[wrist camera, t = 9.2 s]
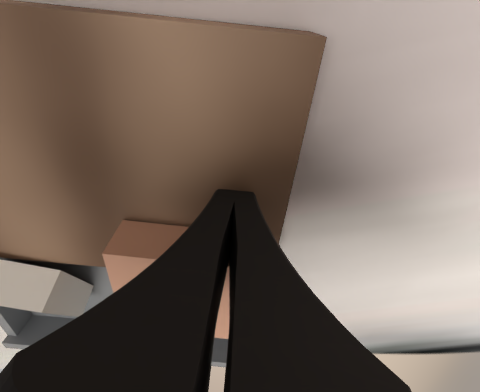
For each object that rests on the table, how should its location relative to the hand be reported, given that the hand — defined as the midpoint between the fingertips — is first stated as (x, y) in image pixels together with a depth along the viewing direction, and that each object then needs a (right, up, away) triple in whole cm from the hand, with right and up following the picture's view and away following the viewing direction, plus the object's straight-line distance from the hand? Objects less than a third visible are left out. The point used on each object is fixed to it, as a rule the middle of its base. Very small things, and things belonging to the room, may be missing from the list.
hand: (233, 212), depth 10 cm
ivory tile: (-11, -3, +4) cm, 12 cm away
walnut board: (-6, +3, +2) cm, 7 cm away
